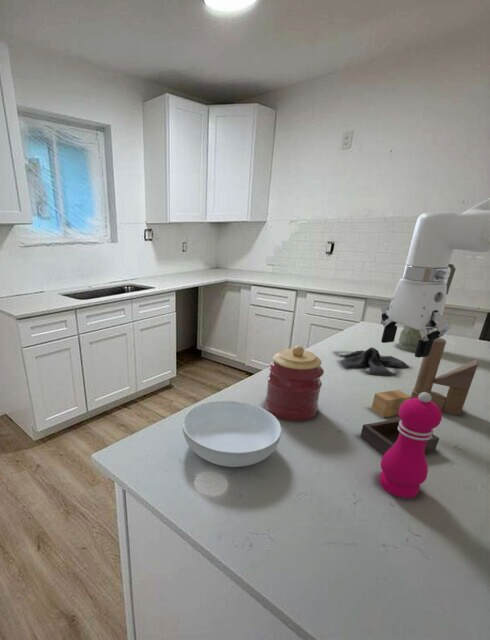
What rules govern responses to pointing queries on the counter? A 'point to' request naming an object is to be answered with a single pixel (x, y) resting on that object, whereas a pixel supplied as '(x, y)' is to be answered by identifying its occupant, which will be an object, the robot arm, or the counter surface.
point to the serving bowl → (231, 432)
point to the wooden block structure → (444, 380)
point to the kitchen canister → (294, 384)
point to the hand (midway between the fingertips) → (403, 348)
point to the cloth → (372, 362)
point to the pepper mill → (410, 447)
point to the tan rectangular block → (389, 402)
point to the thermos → (411, 335)
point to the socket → (389, 436)
